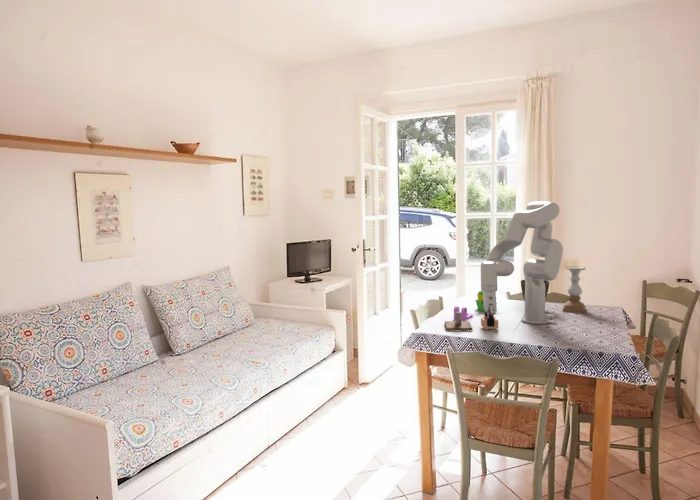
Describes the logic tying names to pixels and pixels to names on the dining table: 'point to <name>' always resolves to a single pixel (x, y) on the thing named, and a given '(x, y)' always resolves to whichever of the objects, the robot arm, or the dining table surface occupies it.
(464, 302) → the dining table surface
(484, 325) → the collar
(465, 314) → the bracket
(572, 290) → the candle holder
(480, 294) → the fruit basket
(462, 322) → the post stand
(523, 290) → the plant pot
